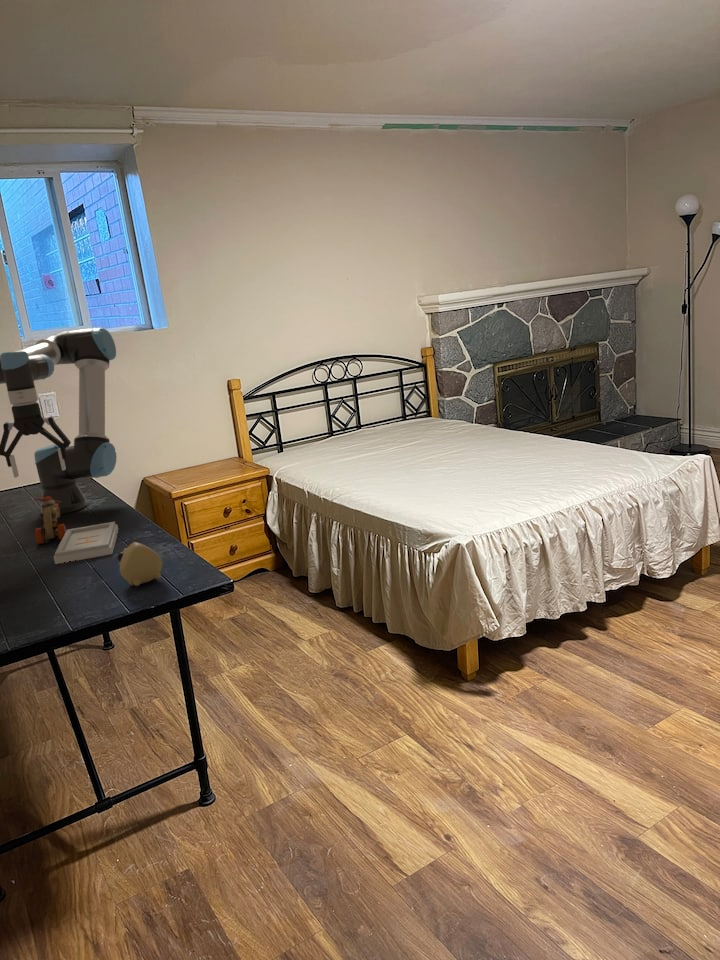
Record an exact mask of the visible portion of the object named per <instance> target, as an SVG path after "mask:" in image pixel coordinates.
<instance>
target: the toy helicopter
mask: <svg viewBox="0 0 720 960" xmlns="http://www.w3.org/2000/svg"><path fill="white" fill-rule="evenodd" d="M34 501H38V502H39V501H40V502H41V501H42V505H43V506H47V507H44V510H43V514H42V521H43V525H42V527H36V528H35V530H34V535H35V539H36V542H37V544H38V545H43V544H45V542H46V540H51V539H55V538H57V537H58V539H59V540H60V541H62V539H63V537H64V535H65V533H66V531H67V528H66V527H67V526H66V525H65V524H64V523H61V524H60V523H59V524H58V518H60V517H61V514H60V509H59V505H58V503H61V502H62V501H57V500H52V498H51V497H49V496H47V497H45V498H42V497H41V498H36V499H34Z"/></svg>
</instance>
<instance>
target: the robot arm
mask: <svg viewBox="0 0 720 960" xmlns="http://www.w3.org/2000/svg"><path fill="white" fill-rule="evenodd" d="M116 356H117V348H116V343H115V340H114V339H113V336H112V335H111V333H110V332H109V331H108V330H107V329H106V328H104V327H91V328H83V329H74V330H65V331H61V332H57V333H55V334H52V335H49V336H47V337H45V338H42V339H39V340H37V342H35V344H34V345H31V346H28V347H25V348H23V349H20V350H15V351H14V350H13V351H6V352H2V353H0V385H1V384H3V385H4V384H5V385H6V391H7V394H8V395H7V396H8V399H9V403H10V405H12V406H11V412H12V413H11V414H12V417H13V420H14V421H13V422H5V423H3V425H2V428H3V434H2V436H1V440H0V456H2V457H5V460H6V465H7V467H8V468H11V470H12V474H13V479H15V478H18V477H19V476H20V475H19V469H18V465H17V463H16V457H15V455H14V454H12V453H13V452H14V449H15V448H16V447H17V445H18V443H19V442H20V440H21V439H22V437H23V436H25V437H26V436H31V435H38V434H40V435H42V436H44V437H45V438H46V439H48V440H49V441H50V442H52V443H53V444H51V445H46V446H44V447H41V448H39V449H37V450H35V452H34V461H35V462H34V464H35V466H36V470H37V475H38V478H39V479H38V480H39V483H40V486H41V491H42V492H41V498H45V497H47V496H49V497H51V498H52V500H57V501H62V502H61V503H58V505H59V509H60V515H62V514H68V513H72V512H76V511H78V510H82V509H83V508H85V507H86V506H87V505H88V502H87V498H86V496H85V495H84V492H82V491H81V489H80V487H79V485H78V482H77V480H83V479H91V478H92V479H93V478H95V479H99V478H103V477H107V476H109V475H111V474H112V473H113V472H114V470H115V467H116V463H117V452H116V447H115V446H114V444H113V443H111V442H110V441H111V440H110V438H109V437H107V435H106V371H107V370H108V369H109V368H110V361H113V360H114V359H115V358H116ZM71 364H72V365H73V364H74V366H75V367H76V368H77V369H78V371H79V372H78V376H79V378H78V379H79V380H78V435H76V437H75V438H74V439H73V445H71V443H72V442H71V440H70V439H69V438H68V437H67V436H66V434H65V433H64V431H62V429H61V428H60V427H59V425H58V424H57V423H56V421H55V417H54V416H53V415H52V416H49V417H47V418H46V417H45V418H44V417H43V416H42V412H41V408H40V404H39V402H38V401H39V399H38V395H37V390H36V386H35V381H39V380H46V379H47V378H50V377H51V376H52V375H53V374H54V371H55V366H57V365H71ZM45 423H46V424H47V425H49V426H50V427H51V428H52V430H53V431H54V432H55V433H56V435H57V436H58V437H59V438H60V439H58V438H57V437H56V436H55V435H53V434H52V433H51V432H50V431H49V430H47V429H46V428H45V427H44V424H45ZM13 428H14V429H16V430H17V433H16V435H15V437H14V438H13V439H12V441H11V443H10V445H9V446H8V448H7V450H6V447H7V443H8V439H9V436H10V432H11V431H12V429H13ZM44 507H47V506H43V505H42V501H40V511H41V514H42V515H43V510H44Z"/></svg>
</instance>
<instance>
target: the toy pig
mask: <svg viewBox="0 0 720 960" xmlns="http://www.w3.org/2000/svg"><path fill="white" fill-rule="evenodd" d="M116 559H117V560H118V564H119V573H120V575H121V576H122V578H123V579H124V580H125V581H127V582H128V583H129V586H136V587H139V586H140V585H141V584H142V585H143V584H146V583H149V582H151V581H153V580H154V579H157V580H158V579H160V578H161V577H162V574H161V571H162V568H163V559H162V557H161V555H159V554H158V553H157V552H156V551H155V550H153V549H152V548H150V547H148V546H147V545H145V544H143V543H140V542H137V541H133V542H132V543H130V544H129V545H128V547H125V548H123V551H121V552H119V553H118V554H117V558H116Z"/></svg>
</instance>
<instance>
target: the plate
mask: <svg viewBox="0 0 720 960" xmlns="http://www.w3.org/2000/svg"><path fill="white" fill-rule="evenodd" d="M118 530H119V527H118V524H116V521H110V522H105V523H104V522H103V523H99V524H92V525H88V526H87V525H86V526H80V527H75V528H69V529H66V533H65V535H64V537H63V539H62V540H60V542H59V544H58V546H57V548H56V550H55V552H54V556H53V562H54V564H55V565H58V564H59V563H60V564H65V563H70V562H69V561H71V562H76V561H81V560H86V559H92V558H97V557H98V558H99V557H105V556H108V555H112V554H114V553H113V552H114V548H115V545H116V542H117V539H118V538H117V537H118V535H117V534H119V531H118ZM75 560H76V561H75ZM64 562H65V563H64Z"/></svg>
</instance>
